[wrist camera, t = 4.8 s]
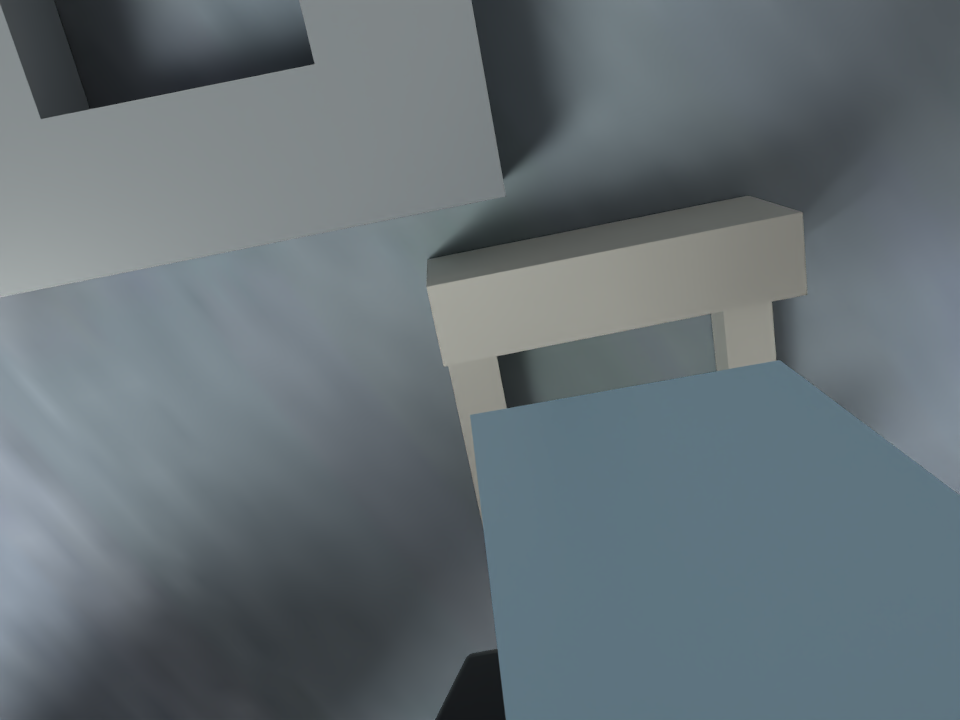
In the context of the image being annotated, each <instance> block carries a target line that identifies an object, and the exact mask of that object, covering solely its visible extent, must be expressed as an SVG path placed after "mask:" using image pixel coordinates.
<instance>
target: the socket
mask: <svg viewBox="0 0 960 720" xmlns="http://www.w3.org/2000/svg"><path fill="white" fill-rule="evenodd" d="M299 2H300V6H301V10H302V14H303V18H304V22H305V26H306V31H307V35H308V39H309V43H310V47H311V51H312V56H313V60H314V64H313V65H308V66H303V67H298V68H293V69H288V70H283V71H278V72H273V73H268V74H263V75H258V76H253V77H248V78H243V79H238V80H233V81H228V82H223V83H218V84H213V85H208V86H203V87H198V88H193V89H188V90H183V91H178V92H173V93H168V94H163V95H159V96H154V97H149V98H144V99H139V100H134V101H129V102H124V103H119V104H114V105H109V106H104V107H99V108H94V109H90V108H89V105H88V102H87V99H86V96H85V93H84V90H83V87H82V83H81V80H80V77H79V74H78V71H77V68H76V65H75V62H74V59H73V56H72V53H71V50H70V47H69V44H68V41H67V38H66V35H65V32H64V29H63V26H62V23H61V20H60V17H59V14H58V11H57V8H56V5H55V2H54V0H0V297H5V296H10V295H15V294H20V293H25V292H30V291H35V290H40V289H45V288H50V287H55V286H60V285H65V284H70V283H75V282H80V281H85V280H90V279H95V278H100V277H105V276H110V275H115V274H120V273H125V272H130V271H135V270H140V269H145V268H150V267H155V266H160V265H165V264H170V263H175V262H180V261H185V260H190V259H195V258H200V257H205V256H210V255H215V254H220V253H225V252H230V251H235V250H240V249H245V248H250V247H255V246H260V245H265V244H270V243H275V242H280V241H285V240H290V239H295V238H300V237H305V236H310V235H315V234H320V233H325V232H330V231H335V230H340V229H345V228H350V227H355V226H360V225H365V224H370V223H375V222H380V221H385V220H390V219H395V218H401V217H406V216H411V215H416V214H421V213H426V212H431V211H436V210H441V209H446V208H451V207H456V206H461V205H466V204H471V203H476V202H481V201H486V200H491V199H496V198H501V197H506V193H505V188H504V182H503V176H502V171H501V165H500V159H499V154H498V148H497V142H496V137H495V131H494V125H493V120H492V114H491V108H490V103H489V97H488V92H487V86H486V80H485V75H484V69H483V63H482V58H481V52H480V46H479V41H478V35H477V29H476V24H475V18H474V12H473V7H472V1H471V0H299Z"/></svg>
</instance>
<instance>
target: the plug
mask: <svg viewBox="0 0 960 720" xmlns="http://www.w3.org/2000/svg"><path fill="white" fill-rule="evenodd" d="M470 419H471V427H472V436H473V444H474V453H475V461H476V470H477V478H478V487H479V495H480V504H481V512H482V521H483V529H484V538H485V546H486V555H487V563H488V572H489V580H490V589H491V598H492V606H493V615H494V623H495V632H496V640H497V649H498V657H499V666H500V674H501V683H502V691H503V700H504V708H505V717H506V720H960V495H959V494H957V493H956V492H955V491H953V490H952V489H951V488H949V487H948V486H947V485H945V484H944V483H943V482H941V481H940V480H939V479H937V478H936V477H935V476H933V475H932V474H931V473H929V472H928V471H927V470H925V469H924V468H923V467H921V466H920V465H919V464H917V463H916V462H915V461H913V460H912V459H911V458H909V457H908V456H907V455H905V454H904V453H903V452H901V451H900V450H899V449H897V448H896V447H895V446H893V445H892V444H891V443H889V442H888V441H887V440H885V439H884V438H883V437H882V436H880V435H879V434H878V433H876V432H875V431H874V430H872V429H871V428H870V427H868V426H867V425H866V424H864V423H863V422H862V421H860V420H859V419H858V418H856V417H855V416H854V415H852V414H851V413H850V412H848V411H847V410H846V409H844V408H843V407H842V406H840V405H839V404H838V403H836V402H835V401H834V400H832V399H831V398H830V397H828V396H827V395H826V394H824V393H823V392H822V391H820V390H819V389H818V388H816V387H815V386H814V385H812V384H811V383H810V382H808V381H807V380H806V379H804V378H803V377H802V376H800V375H799V374H798V373H796V372H795V371H794V370H792V369H791V368H790V367H788V366H787V365H786V364H784V363H783V362H782V361H780V360H777V361H772V362H766V363H760V364H755V365H749V366H743V367H738V368H732V369H726V370H721V371H715V372H709V373H704V374H698V375H693V376H687V377H681V378H676V379H670V380H664V381H659V382H653V383H647V384H642V385H636V386H630V387H625V388H619V389H614V390H608V391H602V392H597V393H591V394H585V395H580V396H574V397H568V398H563V399H557V400H551V401H546V402H540V403H535V404H529V405H523V406H518V407H512V408H506V409H501V410H495V411H489V412H484V413H478V414H472V415H470Z"/></svg>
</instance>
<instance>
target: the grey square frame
mask: <svg viewBox="0 0 960 720" xmlns="http://www.w3.org/2000/svg"><path fill="white" fill-rule="evenodd" d="M427 291H428V296H429V301H430V305H431V310H432V315H433V319H434V324H435V328H436V333H437V338H438V342H439V347H440V351H441V356H442V361H443V365H444V367H445V366H448V367H449V372H450V376H451V381H452V386H453V390H454V395H455V400H456V404H457V409H458V414H459V418H460V423H461V428H462V432H463V437H464V442H465V446H466V451H467V456H468V460H469V465H470V470H471V474H472V479H473V483H474V488H475V493H476V497H477V502H478V507H479V511H480V516H481V521H482V512H481V504H480V495H479V487H478V478H477V470H476V461H475V453H474V444H473V436H472V427H471V419H470V415H472V414H478V413H484V412H489V411H495V410H501V409H506V408H507V407H506V402H505V397H504V391H503V386H502V381H501V376H500V371H499V366H498V360H497V356H501V355H506V354H511V353H516V352H521V351H526V350H531V349H536V348H541V347H546V346H551V345H556V344H561V343H566V342H571V341H576V340H581V339H586V338H591V337H596V336H601V335H606V334H611V333H616V332H621V331H627V330H632V329H637V328H642V327H647V326H652V325H657V324H662V323H667V322H672V321H677V320H682V319H687V318H692V317H697V316H702V315H707V314H711V320H712V330H713V340H714V350H715V360H716V370H717V371H721V370H726V369H732V368H738V367H743V366H749V365H755V364H760V363H766V362H772V361H776V350H775V336H774V322H773V308H772V302H773V301H778V300H783V299H788V298H793V297H798V296H803V295H807V279H806V261H805V244H804V227H803V212H801V211H797V210H794V209H791V208H788V207H784V206H781V205H778V204H775V203H771V202H768V201H765V200H762V199H758V198H755V197H752V196H749V195H748V196H743V197H738V198H733V199H728V200H723V201H718V202H713V203H708V204H703V205H698V206H693V207H688V208H683V209H678V210H673V211H668V212H663V213H658V214H653V215H648V216H643V217H638V218H633V219H628V220H623V221H618V222H613V223H608V224H602V225H597V226H592V227H587V228H582V229H577V230H572V231H567V232H562V233H557V234H552V235H547V236H542V237H537V238H532V239H527V240H522V241H517V242H512V243H507V244H502V245H497V246H492V247H487V248H482V249H477V250H472V251H467V252H462V253H457V254H452V255H447V256H442V257H437V258H432V259H427ZM482 525H483V521H482ZM483 530H484V529H483Z"/></svg>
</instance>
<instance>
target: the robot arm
mask: <svg viewBox="0 0 960 720" xmlns="http://www.w3.org/2000/svg"><path fill="white" fill-rule="evenodd" d="M435 720H506V717H505V708H504V700H503V691H502V683H501V674H500V666H499V657H498V649H494V650H488V651H482V652H477V653H472V654H470V655H469V656H467V657H466V659H465V661H464V663H463V665H462V667H461V669H460V671H459V673H458V675H457V677H456V679H455V681H454V683H453V685H452V687H451V689H450V691H449V693H448V695H447V697H446V699H445V701H444V703H443V705H442V707H441V709H440V711H439V713H438V715H437V717H436V719H435Z"/></svg>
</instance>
